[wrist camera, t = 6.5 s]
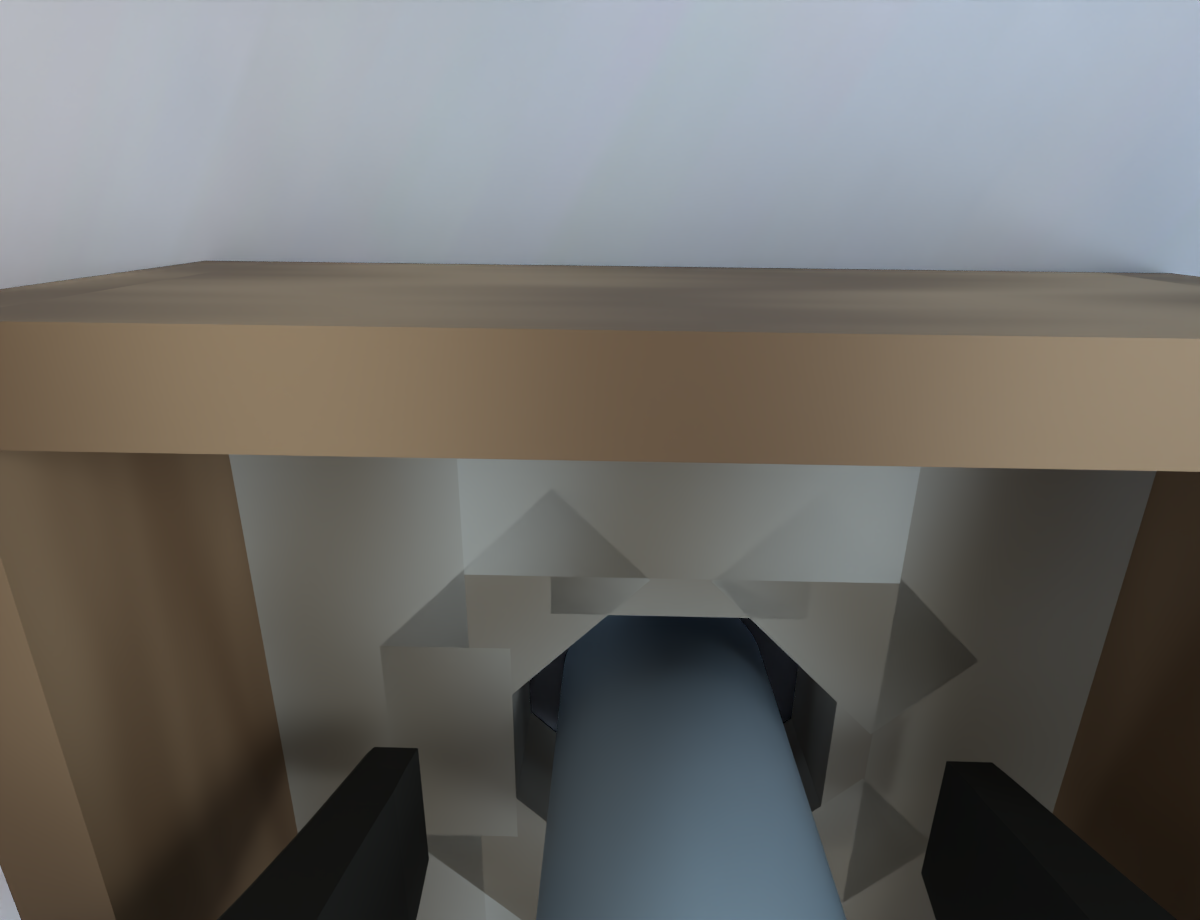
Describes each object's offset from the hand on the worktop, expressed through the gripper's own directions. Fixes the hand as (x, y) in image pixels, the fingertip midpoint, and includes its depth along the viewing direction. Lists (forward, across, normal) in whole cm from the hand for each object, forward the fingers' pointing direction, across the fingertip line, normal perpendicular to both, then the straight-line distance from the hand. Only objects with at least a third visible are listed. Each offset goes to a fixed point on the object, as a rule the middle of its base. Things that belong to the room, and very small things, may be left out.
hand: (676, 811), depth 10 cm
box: (+3, 0, 0) cm, 3 cm away
